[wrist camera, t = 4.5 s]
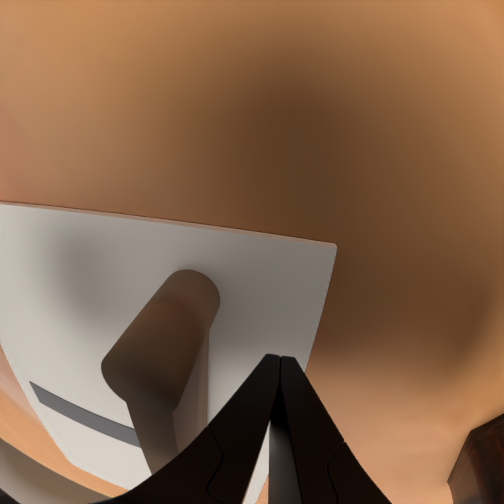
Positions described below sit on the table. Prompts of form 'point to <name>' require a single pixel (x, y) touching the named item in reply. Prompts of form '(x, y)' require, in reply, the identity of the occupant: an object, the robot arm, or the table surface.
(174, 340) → the fence loose
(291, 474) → the robot arm
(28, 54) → the table surface
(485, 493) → the brown coffee grinder
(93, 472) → the card
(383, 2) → the table surface
